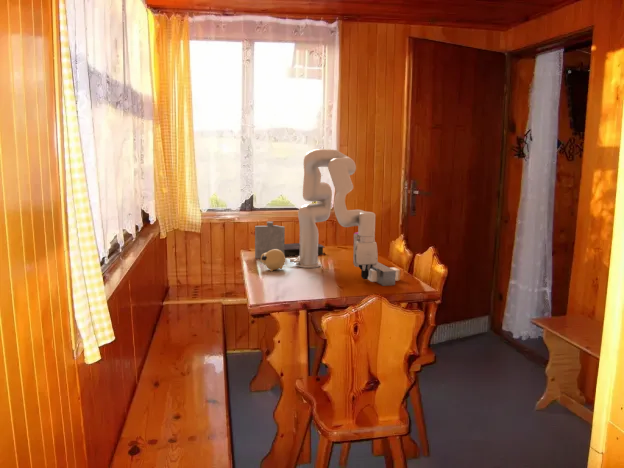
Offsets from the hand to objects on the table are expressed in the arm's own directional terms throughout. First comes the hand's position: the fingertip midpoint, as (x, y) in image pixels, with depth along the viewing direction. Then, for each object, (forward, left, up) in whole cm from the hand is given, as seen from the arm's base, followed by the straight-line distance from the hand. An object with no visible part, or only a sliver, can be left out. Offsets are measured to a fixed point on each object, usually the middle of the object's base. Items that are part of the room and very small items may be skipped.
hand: (364, 278), depth 233 cm
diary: (-11, +67, -2) cm, 68 cm away
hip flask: (-31, +57, -1) cm, 65 cm away
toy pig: (-36, +30, -2) cm, 47 cm away
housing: (+7, 0, -1) cm, 7 cm away
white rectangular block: (+9, 0, -1) cm, 10 cm away
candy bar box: (+14, +35, -1) cm, 38 cm away
